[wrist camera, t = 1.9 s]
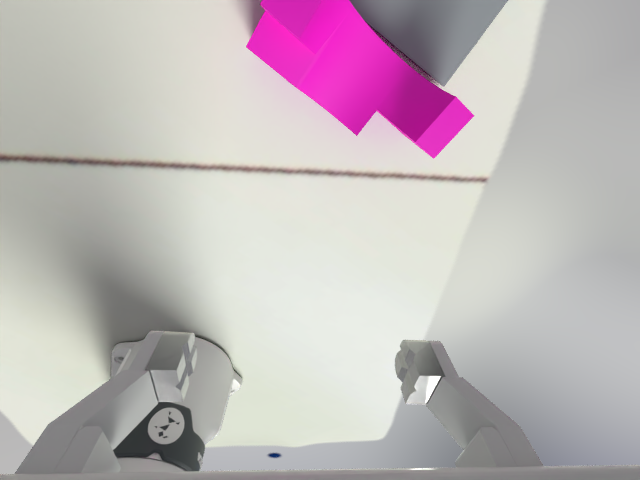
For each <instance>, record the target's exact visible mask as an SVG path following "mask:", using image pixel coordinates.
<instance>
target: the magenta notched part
mask: <svg viewBox="0 0 640 480" xmlns="http://www.w3.org/2000/svg"><path fill="white" fill-rule="evenodd" d="M260 5H261V6H262V7H263V8H264V10H265V12H264V14H263V16H262V17H261V19H260V21H259V23H258V25H257V27H256V29H255V31H254V33H253V34H252V36H251V38H250V40H249V42H248V44H247V46H246V47H247V48H248V49H249V50H250V51H252V52H253V53H254V54H255V55H257V56H258V57H259V58H260V59H261V60H263V61H264V62H265V63H266V64H268V65H269V66H270V67H271V68H273V69H274V70H275V71H276V72H277V73H279V74H280V75H281V76H282V77H284V78H285V79H286V80H287V81H289V82H290V83H291V84H292V85H293V86H295V87H296V88H298V89H299V90H300V91H302V92H303V93H305V94H306V95H307V96H309V97H310V98H311V99H313V100H314V101H315V102H317V103H318V104H319V105H320V106H322V107H323V108H324V109H326V110H327V111H328V112H329V113H330V114H332V115H333V116H334V117H335V118H337V119H338V120H339V121H340V122H341V123H343V124H344V125H345V126H346V127H347V128H348V129H350V130H351V131H352V132H353V133H354V134H355V135H356V136H357V135H358V134H359V132H360V131H361V130H362V128H363V127H364V126H365V125H366V123H367V122H368V121H369V120H370V118H371V117H372V116H373V114H374V113H375V112H376V111H377V112H379V113H380V114H381V115H382V116H383V117H384V118H385V119H387V120H388V121H389V122H390V123H391V124H392V125H393V126H394V127H396V128H397V129H398V130H399V131H400V132H401V133H402V134H403V135H405V136H406V137H407V138H408V139H410V140H411V141H412V142H413V143H415V144H416V145H417V146H418V147H420V148H421V149H422V150H423V151H425V152H426V153H427V154H429V155H430V156H431V157H432V158H435V157H436V156H437V155H438V154H439V153H440V152H441V150H442V149H443V148H444V147H445V146H446V145H447V144H448V143H449V142H450V141H451V140H452V139H453V138H454V137H455V136H456V135H457V134H458V132H459V131H460V130H461V129H462V128H463V127H464V126H465V125H466V124H467V123H468V122H469V121H470V120H471V119H472V118H473V117H474V115H473V114H472V113H471V112H470V111H469V110H468V109H467V108H466V107H465V106H464V105H463V104H462V102H461V101H460V100H459V99H458V98H457V97H456V96H453V95H451V94H449V93H447V92H445V91H443V90H442V89H440V88H438V87H437V86H435V85H434V84H432V83H431V82H429V81H428V80H427V79H425V78H424V77H423V76H421V75H420V74H419V73H417V72H416V71H415V70H414V69H413V68H411V67H410V66H409V65H408V64H407V63H405V62H404V61H403V60H402V59H401V58H400V57H399V56H398V55H397V54H395V53H394V52H393V51H392V50H391V49H390V48H389V47H388V46H387V45H386V44H385V43H384V42H383V41H382V40H381V39H380V38H379V37H378V36H377V34H376V33H375V32H374V31H373V30H372V29H371V28H370V27H369V26H368V24H367V23H366V22H365V21H364V20H363V18H362V17H361V16H360V15H359V13H358V12H357V11H356V9H355V8H354V7H353V5H352V4H351V2H350V1H349V0H262V1H261V3H260Z"/></svg>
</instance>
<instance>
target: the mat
mask: <svg viewBox="0 0 640 480" xmlns="http://www.w3.org/2000/svg"><path fill="white" fill-rule="evenodd" d="M349 1H350V2H351V4H352V5H353V7H354V8H355V9H356V11H357V12H358V13H359V15H360V16H361V17H362V18H363V20H364V21H365V22H366V23H367V24H368V25H370V26H371V27H372V28H373V29H374V30H376V31H377V32H378V33H379V34H380V35H382V36H383V37H384V38H385V39H386V40H388V41H389V42H390V43H391V44H392V45H394V46H395V47H396V48H397V49H399V50H400V51H401V52H402V53H403V54H405V55H406V56H407V57H408V58H409V59H411V60H412V61H413V62H414V63H415V64H417V65H418V66H419V67H420V68H421V69H423V70H424V71H425V72H426V73H427V74H429V75H430V76H431V77H432V78H434V79H435V80H436V81H437V82H438V83H440V84H441V85H442V86H445V85H446V83H447V82H448V81H449V79H450V78H451V77H452V75H453V74H454V73H455V71H456V70H457V68H458V67H459V66H460V64H461V63H462V62H463V60H464V59H465V58H466V56H467V55H468V54H469V52H470V51H471V50H472V48H473V47H474V46H475V44H476V43H477V42H478V40H479V39H480V37H481V36H482V35H483V33H484V32H485V31H486V29H487V28H488V27H489V25H490V24H491V23H492V21H493V20H494V19H495V17H496V16H497V15H498V13H499V12H500V10H501V9H502V8H503V6H504V5H505V4H506V2H507V1H508V0H349Z"/></svg>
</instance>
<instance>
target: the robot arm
mask: <svg viewBox="0 0 640 480" xmlns="http://www.w3.org/2000/svg"><path fill="white" fill-rule="evenodd" d="M400 347H401V351H399V352H398V353H397V355H396V358H395V369H396V374H397V377H398V378H399V379H400V380H401V381H402V382H403V383H402V386H401V390H402V394H403V397H404V400H405V403H406V404H417V405H427V407H428V409H429V410H430V411H431V412H432V413H433V414H434V416H435V417H436V418H437V419H438V421H439V422H440V423H441V424H442V425H443V426H444V428H445V429H446V430H447V431H448V432H449V434H450V435H451V436H452V437H453V438H454V440H455V441H456V442H457V443H458V444H459V446H460V447H461V448H462V449H463V450H464V451H463V452H462V453H461V455H460V456H459V457H458V459H457V460H456V462H455V465H456V467H457V468H399V469H398V468H395V469H394V468H392V469H328V470H327V469H322V470H257V471H256V470H252V471H200V470H201V466H202V461H203V454H204V450H205V444H207V443H208V442H209V441H211V440H212V439H213V438H214V437H215V436H216V435H218V434H219V432H220V430H221V426H222V422H223V419H224V415H225V411H226V407H227V404H228V400H229V397H230V396H231V395H232V394H234V393H235V392H236V391H237V390H239V389H240V388H241V385H242V378H241V377H240V376H239V375H238V374H237V373H236V372H235V371H234V370H233V368H232V364H231V361H230V359H229V358H228V356H227V355H226V354H225V353H224V352H223V351H222V350H221V349H220V348H219V347H217V346H216V345H214V344H212V343H210V342H208V341H206V340H203V339H201V338H198V337H195V335H194V333H188V332H172V331H152V330H151V331H150V332H149V333H148V334H147V335H146V337H145V339H144V340H141V341H138V342H126V343H119V344H116V345H115V347H114V349H113V351H112V366H111V379H110V380H109V381H107V382H106V383H104V384H103V385H102V386H100V387H99V388H98V389H96V390H95V391H94V392H92V393H91V394H89V395H88V396H87V397H85V398H84V399H83V400H81V401H80V402H78V403H77V404H76V405H74V406H73V407H72V408H70V409H69V410H68V411H66V412H65V413H63V414H62V415H61V416H59V417H58V418H57V419H55V420H54V421H52V422H51V423H50V424H48V425H47V427H46V428H45V430H44V431H43V433H42V434H41V436H40V437H39V439H38V440H37V442H36V443H35V444H34V446H33V447H32V449H31V450H30V452H29V453H28V455H27V456H26V458H25V459H24V461H23V462H22V463H21V465H20V466H19V468H18V469H17V471H16V472H15V474H0V480H640V465H599V466H543V464H542V462H541V461H540V459H539V457H538V456H537V454H536V452H535V451H534V449H533V448H532V446H531V444H530V442H529V440H528V439H527V437H526V435H525V434H524V432H523V430H522V429H521V427H520V426H519V425H518V424H517V423H516V422H514V421H513V420H512V419H511V418H510V417H508V416H507V415H506V414H505V413H504V412H503V411H501V410H500V409H499V408H498V407H497V406H495V405H494V404H493V403H492V402H491V401H490V400H489V399H487V398H486V397H485V396H484V395H483V394H481V393H480V392H479V391H478V390H477V389H475V388H474V387H473V386H472V385H471V384H470V383H469V382H467V381H466V380H465V379H464V378H463V377H459V376H458V374H457V372H456V370H455V368H454V366H453V364H452V362H451V360H450V358H449V356H448V354H447V352H446V350H445V348H444V346H443V344H442V343H441V342H440V341H426V340H403V341H402V342H401V345H400Z"/></svg>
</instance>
